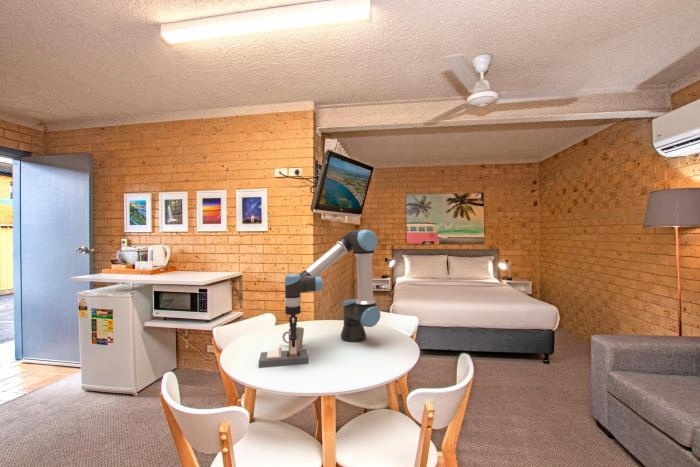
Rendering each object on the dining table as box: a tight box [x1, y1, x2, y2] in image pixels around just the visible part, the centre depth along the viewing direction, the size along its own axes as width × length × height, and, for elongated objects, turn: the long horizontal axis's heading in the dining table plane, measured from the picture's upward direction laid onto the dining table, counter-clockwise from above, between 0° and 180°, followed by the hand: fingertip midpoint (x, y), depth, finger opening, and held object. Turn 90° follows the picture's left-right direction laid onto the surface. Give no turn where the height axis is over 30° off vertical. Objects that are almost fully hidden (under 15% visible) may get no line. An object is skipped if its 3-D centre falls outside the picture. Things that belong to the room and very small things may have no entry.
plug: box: [288, 334, 298, 357], centre depth 161 cm, size 4×4×12 cm
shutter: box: [267, 343, 283, 359], centre depth 159 cm, size 7×9×4 cm
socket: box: [258, 348, 309, 369], centre depth 160 cm, size 23×12×3 cm, turn 101°
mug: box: [282, 326, 305, 350], centre depth 180 cm, size 8×13×10 cm, turn 78°
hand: (293, 348), depth 161 cm, fingers open, 13 cm apart
